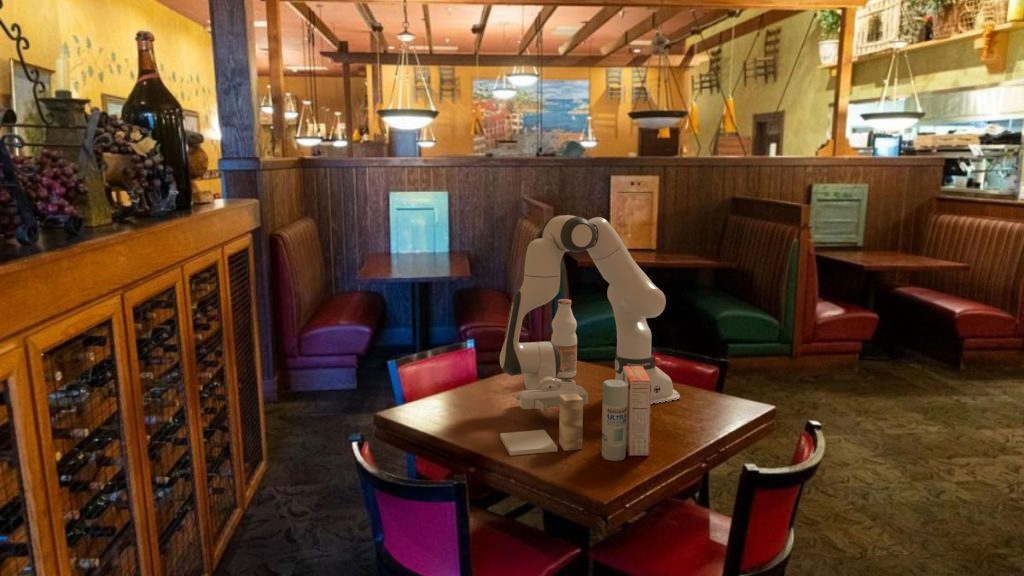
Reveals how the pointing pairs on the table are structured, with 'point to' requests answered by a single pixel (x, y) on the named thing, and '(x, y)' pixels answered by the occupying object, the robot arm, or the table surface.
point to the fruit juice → (565, 338)
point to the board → (528, 442)
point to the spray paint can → (614, 419)
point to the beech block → (571, 422)
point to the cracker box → (637, 410)
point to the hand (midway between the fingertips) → (560, 406)
